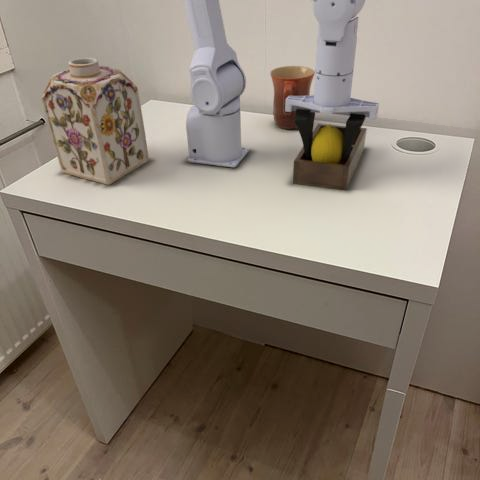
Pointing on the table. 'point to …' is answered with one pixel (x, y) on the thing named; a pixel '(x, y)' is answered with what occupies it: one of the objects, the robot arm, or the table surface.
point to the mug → (289, 91)
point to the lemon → (328, 145)
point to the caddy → (329, 165)
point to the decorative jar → (95, 121)
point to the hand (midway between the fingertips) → (326, 157)
